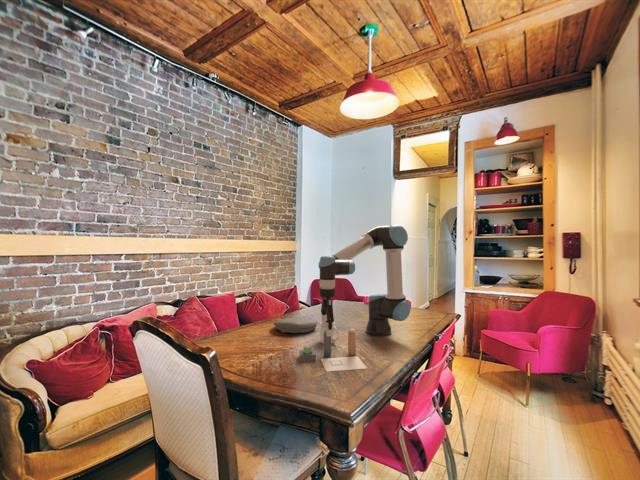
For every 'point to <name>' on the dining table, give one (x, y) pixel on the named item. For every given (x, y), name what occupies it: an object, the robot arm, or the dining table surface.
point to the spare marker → (351, 342)
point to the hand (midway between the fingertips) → (326, 332)
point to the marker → (327, 344)
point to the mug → (331, 336)
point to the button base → (307, 356)
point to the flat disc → (296, 325)
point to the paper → (342, 364)
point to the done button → (307, 350)
